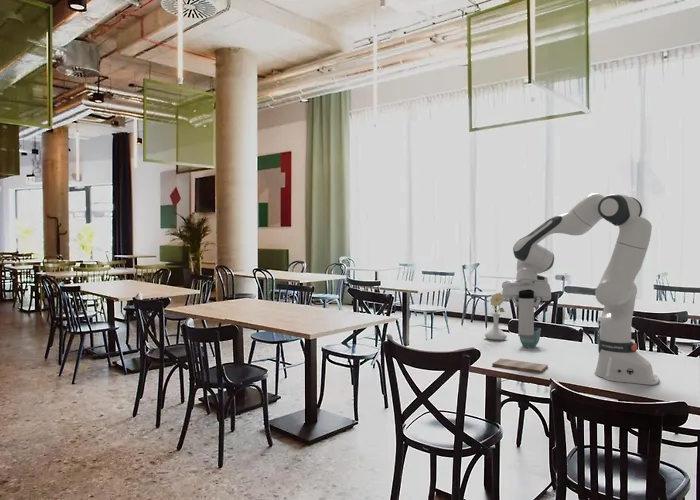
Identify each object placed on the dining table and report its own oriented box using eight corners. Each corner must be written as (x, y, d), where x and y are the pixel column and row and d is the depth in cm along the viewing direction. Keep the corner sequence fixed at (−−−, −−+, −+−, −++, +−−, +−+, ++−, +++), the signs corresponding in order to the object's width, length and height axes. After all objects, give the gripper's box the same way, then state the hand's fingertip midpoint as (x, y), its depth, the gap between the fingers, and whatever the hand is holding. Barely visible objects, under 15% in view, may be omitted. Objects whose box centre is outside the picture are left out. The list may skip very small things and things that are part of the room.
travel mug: (536, 336, 228) (536, 289, 228) (529, 338, 224) (529, 291, 223) (522, 334, 233) (523, 288, 232) (515, 336, 228) (516, 290, 227)
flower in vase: (480, 337, 284) (481, 291, 283) (499, 336, 287) (500, 290, 286) (492, 342, 271) (493, 294, 270) (512, 341, 274) (513, 293, 273)
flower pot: (541, 346, 264) (541, 328, 264) (536, 349, 257) (537, 331, 256) (523, 343, 269) (523, 326, 268) (518, 347, 261) (518, 329, 261)
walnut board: (547, 367, 223) (547, 364, 223) (541, 373, 214) (541, 370, 214) (500, 361, 234) (500, 358, 234) (492, 366, 225) (492, 363, 225)
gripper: (502, 276, 237) (500, 301, 228) (551, 277, 230) (551, 302, 222) (502, 285, 241) (501, 309, 233) (550, 286, 235) (551, 311, 226)
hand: (526, 306), depth 227 cm, fingers closed on travel mug, 6 cm apart
